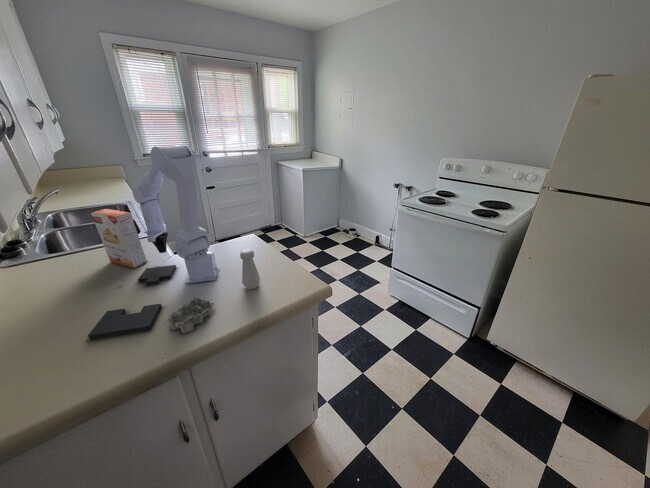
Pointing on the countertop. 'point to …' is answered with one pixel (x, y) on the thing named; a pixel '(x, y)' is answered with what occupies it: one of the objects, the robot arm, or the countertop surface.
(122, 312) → the charcoal pad
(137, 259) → the cracker box
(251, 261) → the salt shaker
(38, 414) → the countertop surface
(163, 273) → the black pad
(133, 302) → the countertop surface
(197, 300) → the egg carton
